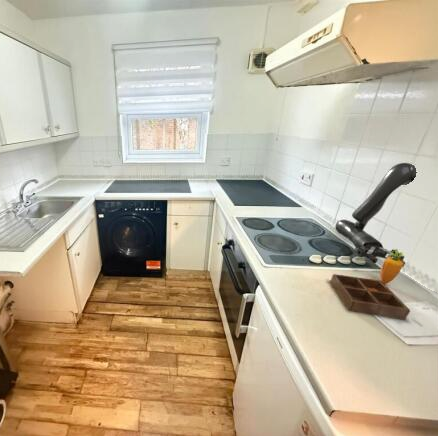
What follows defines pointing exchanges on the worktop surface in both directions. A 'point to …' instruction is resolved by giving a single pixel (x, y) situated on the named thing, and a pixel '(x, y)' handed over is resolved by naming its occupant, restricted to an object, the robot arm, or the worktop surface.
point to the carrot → (391, 267)
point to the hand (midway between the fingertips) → (389, 263)
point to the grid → (369, 297)
